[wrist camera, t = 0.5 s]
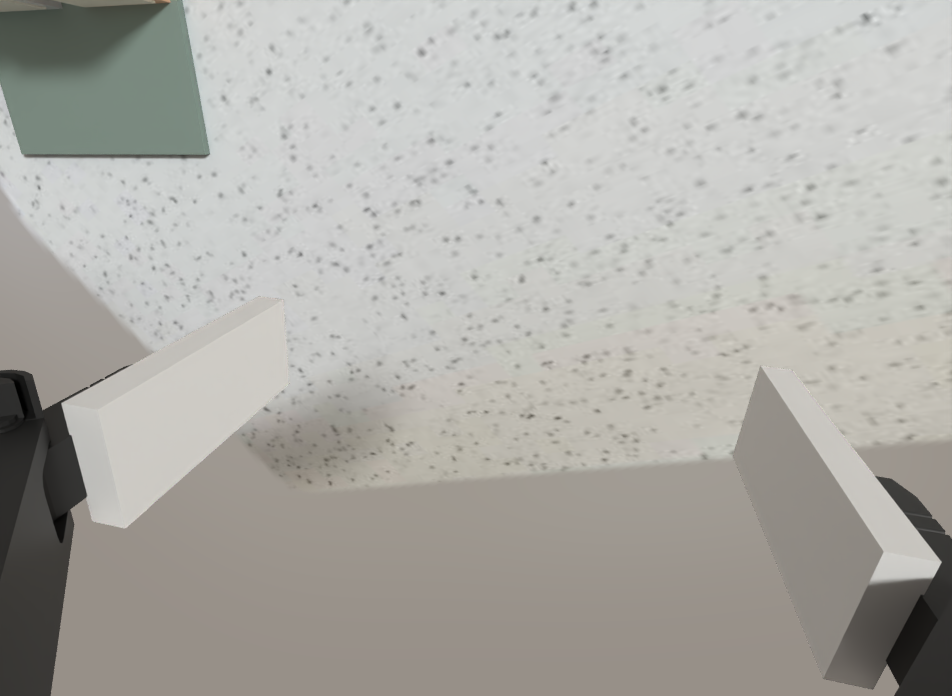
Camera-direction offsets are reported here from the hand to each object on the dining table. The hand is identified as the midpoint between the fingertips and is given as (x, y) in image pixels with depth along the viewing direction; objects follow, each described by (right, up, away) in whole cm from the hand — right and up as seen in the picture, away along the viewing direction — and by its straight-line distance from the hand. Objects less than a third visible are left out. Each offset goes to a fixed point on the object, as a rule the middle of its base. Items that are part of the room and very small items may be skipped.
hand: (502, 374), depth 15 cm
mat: (-30, +25, +26) cm, 47 cm away
